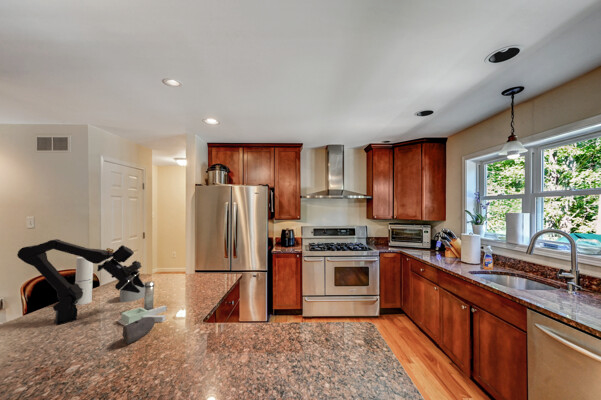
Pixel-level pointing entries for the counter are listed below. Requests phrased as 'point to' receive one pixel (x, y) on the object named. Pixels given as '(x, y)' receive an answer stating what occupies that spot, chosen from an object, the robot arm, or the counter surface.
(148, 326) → the perforated stone tool
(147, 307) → the shiny grey metal cylinder
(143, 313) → the shaft rig
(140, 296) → the lumpy-topped squat cylinder
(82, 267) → the cylindrical container
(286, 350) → the counter surface
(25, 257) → the robot arm
